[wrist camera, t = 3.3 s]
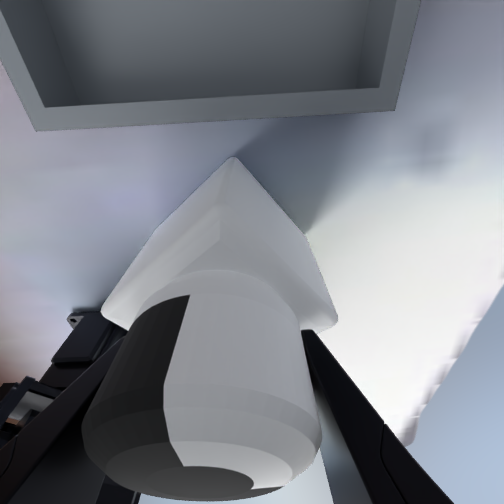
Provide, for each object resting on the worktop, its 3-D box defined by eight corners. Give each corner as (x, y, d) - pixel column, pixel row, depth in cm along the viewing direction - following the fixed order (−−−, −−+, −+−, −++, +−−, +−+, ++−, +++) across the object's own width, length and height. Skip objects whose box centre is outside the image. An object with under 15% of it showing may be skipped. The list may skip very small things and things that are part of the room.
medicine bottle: (231, 291, 18) (208, 528, 8) (153, 230, 15) (-25, 482, 5) (308, 238, 16) (409, 486, 6) (233, 152, 13) (178, 356, 3)
